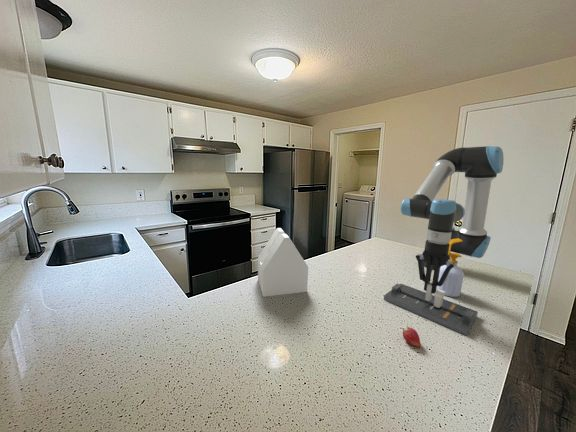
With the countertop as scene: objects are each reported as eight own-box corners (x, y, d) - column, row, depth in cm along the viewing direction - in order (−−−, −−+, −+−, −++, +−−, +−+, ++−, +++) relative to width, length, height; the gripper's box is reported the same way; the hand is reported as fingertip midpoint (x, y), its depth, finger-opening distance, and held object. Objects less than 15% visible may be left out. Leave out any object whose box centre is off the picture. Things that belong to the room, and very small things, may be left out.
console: (400, 287, 107) (401, 279, 107) (476, 316, 87) (478, 306, 86) (383, 299, 97) (384, 290, 96) (466, 335, 77) (468, 324, 76)
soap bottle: (464, 298, 99) (474, 243, 94) (440, 296, 101) (449, 241, 96) (454, 288, 108) (463, 237, 103) (432, 286, 110) (440, 235, 105)
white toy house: (263, 296, 97) (263, 238, 92) (258, 280, 111) (258, 228, 106) (307, 291, 102) (309, 236, 97) (296, 276, 116) (298, 227, 111)
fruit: (414, 351, 69) (417, 336, 68) (398, 338, 75) (399, 324, 74) (424, 347, 71) (426, 332, 70) (407, 334, 76) (409, 321, 75)
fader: (436, 301, 92) (438, 289, 91) (443, 304, 90) (445, 291, 89) (432, 306, 89) (434, 293, 88) (439, 309, 87) (441, 295, 86)
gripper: (415, 238, 89) (407, 295, 94) (455, 248, 80) (444, 310, 84) (422, 235, 94) (414, 289, 99) (461, 243, 85) (450, 303, 89)
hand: (428, 299), depth 91 cm, fingers closed
